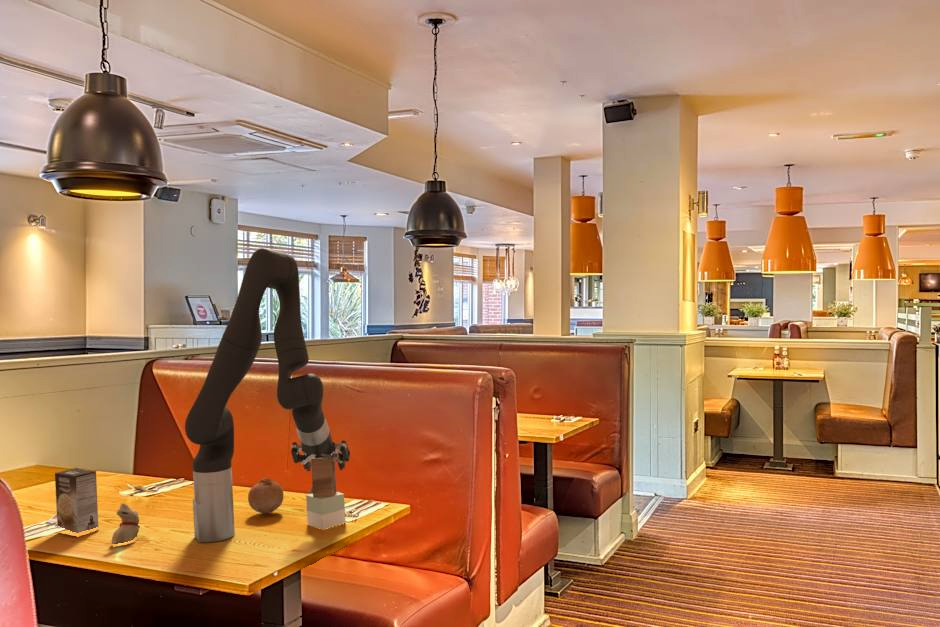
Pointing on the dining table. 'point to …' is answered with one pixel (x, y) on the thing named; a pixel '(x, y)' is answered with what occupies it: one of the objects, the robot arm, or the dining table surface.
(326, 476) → the column
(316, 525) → the tower base
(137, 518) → the chocolate bunny
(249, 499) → the onion
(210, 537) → the robot arm
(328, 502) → the tower mid
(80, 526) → the coffee box
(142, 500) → the dining table surface
